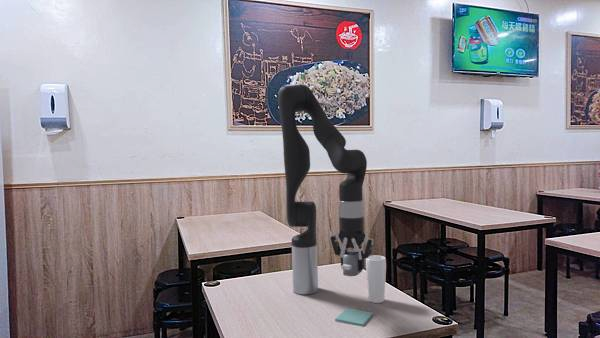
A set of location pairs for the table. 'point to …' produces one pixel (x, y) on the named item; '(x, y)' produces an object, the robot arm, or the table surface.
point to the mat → (354, 317)
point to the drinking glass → (376, 277)
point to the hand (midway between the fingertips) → (352, 269)
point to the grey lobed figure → (350, 263)
